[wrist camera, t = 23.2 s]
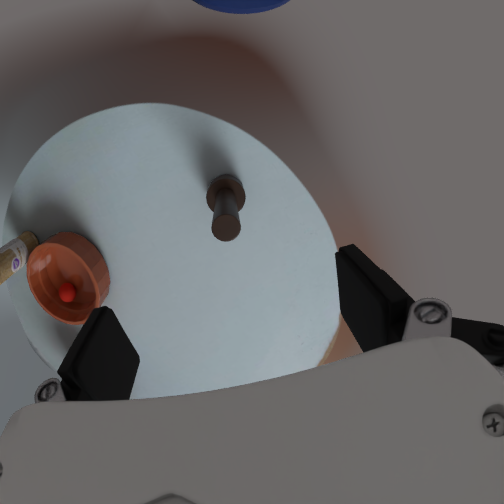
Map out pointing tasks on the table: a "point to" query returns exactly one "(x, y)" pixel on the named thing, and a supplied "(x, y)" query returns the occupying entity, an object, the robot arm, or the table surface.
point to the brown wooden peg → (225, 206)
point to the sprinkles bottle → (16, 254)
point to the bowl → (68, 276)
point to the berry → (67, 292)
